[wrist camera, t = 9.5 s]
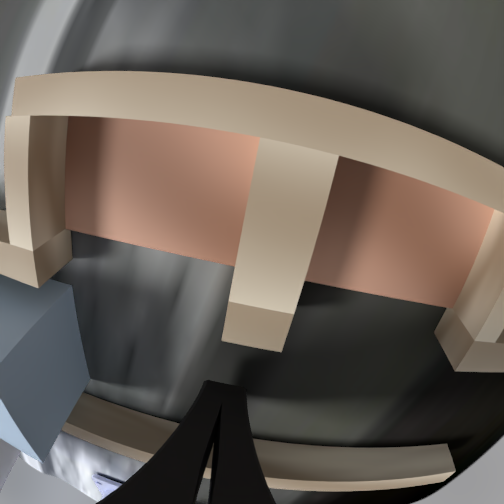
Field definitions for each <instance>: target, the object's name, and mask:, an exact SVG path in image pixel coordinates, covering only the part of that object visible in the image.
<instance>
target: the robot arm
mask: <svg viewBox="0 0 504 504" xmlns="http://www.w3.org/2000/svg"><path fill="white" fill-rule="evenodd" d="M213 443H214V445H213ZM212 447H213V456H212V467H211V478H210V489H209V499H208V504H276V503H275V501H274V499H273V496H272V494H271V492H270V490H269V487H268V485H267V482H266V480H265V477H264V474H263V472H262V469H261V466H260V463H259V459H258V456H257V453H256V449H255V445H254V441H253V437H252V433H251V428H250V423H249V417H248V410H247V398H246V389H245V388H244V387H239V386H234V385H229V384H224V383H219V382H215V381H210V380H206V381H204V383H203V385H202V388H201V390H200V392H199V394H198V396H197V398H196V399H195V401H194V403H193V405H192V406H191V408H190V409H189V411H188V412H187V414H186V415H185V417H184V418H183V420H182V421H181V422H180V424H179V425H178V427H177V428H176V429H175V431H174V432H173V433H172V434H171V436H170V437H169V438H168V439H167V441H166V442H165V443H164V444H163V445H162V447H161V448H160V449H159V450H158V451H157V452H156V453H155V454H154V455H153V456H152V457H151V459H150V460H149V461H148V462H147V463H146V464H145V465H144V466H142V467H141V468H140V469H139V470H138V471H137V472H136V473H135V474H134V475H133V476H131V477H130V478H129V479H128V480H127V481H126V482H125V483H123V484H121V483H118V482H115V481H112V480H110V479H107V478H105V477H102V476H99V475H97V474H93V476H92V479H93V481H94V482H95V484H96V486H97V487H98V489H99V491H100V492H101V494H102V495H103V496H102V498H101V500H100V501H99V502H98V503H96V504H195V502H196V498H197V494H198V491H199V488H200V485H201V481H202V478H203V475H204V472H205V469H206V466H207V463H208V459H209V456H210V453H211V450H212Z"/></svg>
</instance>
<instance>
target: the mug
mask: <svg viewBox="0 0 504 504" xmlns="http://www.w3.org/2000/svg"><path fill="white" fill-rule="evenodd" d="M20 452H21V451H20V450H19V449H17V448H15V447H14V446H12V445H10V444H9V443H7V442H6V441H4V440H2V439H1V438H0V491H1V489H2V487H3V485H4V483H5V481H6V479H7V477H8V475H9V473H10V471H11V469H12V467H13V465H14V463H15V462H16V460H17V458H18V456H19V454H20Z"/></svg>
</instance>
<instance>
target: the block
mask: <svg viewBox="0 0 504 504" xmlns="http://www.w3.org/2000/svg"><path fill="white" fill-rule="evenodd" d="M89 381H90V375H89V371H88V367H87V363H86V359H85V355H84V350H83V345H82V341H81V336H80V331H79V325H78V320H77V314H76V308H75V302H74V295H73V288H72V285H69V284H65V283H62V282H59V281H55V280H52V279H49V280H47V281H46V282H45V283H44V284H43V285H42V286H41V287H40V288H36V287H33V286H30V285H28V284H25V283H22V282H20V281H17V280H15V279H12V278H10V277H7V276H5V275H2V274H0V438H1V439H2V440H4V441H6V442H7V443H9V444H10V445H12V446H14V447H15V448H17V449H19V450H20V451H22V452H24V453H25V454H27V455H29V456H31V457H32V458H34V459H36V460H38V461H40V462H42V463H44V461H45V459H46V457H47V455H48V453H49V451H50V449H51V447H52V446H53V444H54V442H55V440H56V438H57V436H58V435H59V433H60V431H61V429H62V427H63V426H64V424H65V422H66V420H67V418H68V417H69V415H70V413H71V411H72V410H73V408H74V406H75V404H76V403H77V401H78V399H79V398H80V396H81V394H82V392H83V391H84V389H85V387H86V386H87V384H88V382H89Z"/></svg>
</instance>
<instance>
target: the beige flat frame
mask: <svg viewBox="0 0 504 504" xmlns="http://www.w3.org/2000/svg"><path fill="white" fill-rule="evenodd" d="M4 178H5V199H6V211H5V210H1V209H0V274H2V275H5V276H7V277H10V278H12V279H15V280H17V281H20V282H22V283H25V284H28V285H30V286H33V287H36V288H40V287H41V286H42V285H43V284H44V283H45V282H46V281H47V280H49V279H50V278H51V277H52V276H53V275H54V274H55V273H57V272H58V271H59V270H60V269H61V268H62V267H64V266H65V265H66V264H67V263H68V262H69V261H71V260H72V259H73V258H72V243H71V230H73V231H77V232H81V233H85V234H90V235H94V236H98V237H103V238H107V239H112V240H116V241H120V242H125V243H129V244H134V245H138V246H143V247H147V248H152V249H156V250H161V251H165V252H170V253H175V254H179V255H184V256H188V257H193V258H198V259H202V260H207V261H212V262H216V263H221V264H226V265H231V266H235V270H234V275H233V281H232V286H231V291H230V297H229V302H228V308H227V313H226V319H225V324H224V330H223V335H222V341H225V342H230V343H235V344H240V345H245V346H250V347H255V348H260V349H266V350H271V351H277V352H282V349H283V346H284V343H285V340H286V337H287V334H288V331H289V328H290V325H291V322H292V319H293V316H294V312H295V309H296V306H297V303H298V300H299V297H300V294H301V290H302V287H303V284H304V281H309V282H314V283H319V284H324V285H329V286H334V287H339V288H344V289H349V290H355V291H360V292H365V293H370V294H375V295H381V296H386V297H391V298H397V299H402V300H407V301H413V302H418V303H424V304H429V305H435V306H440V307H446V310H445V312H444V314H443V316H442V318H441V320H440V322H439V324H438V325H437V327H436V329H435V331H434V334H435V336H436V337H437V339H438V341H439V343H440V345H441V346H442V348H443V350H444V352H445V354H446V356H447V357H448V359H449V361H450V363H451V365H452V367H453V369H454V371H462V372H504V167H502V166H500V165H498V164H496V163H494V162H492V161H490V160H488V159H486V158H484V157H482V156H480V155H478V154H476V153H474V152H472V151H470V150H468V149H466V148H464V147H462V146H459V145H457V144H455V143H453V142H450V141H448V140H446V139H444V138H441V137H439V136H436V135H434V134H432V133H429V132H427V131H424V130H422V129H419V128H416V127H414V126H411V125H409V124H406V123H403V122H400V121H398V120H395V119H392V118H389V117H386V116H383V115H380V114H377V113H374V112H371V111H368V110H365V109H361V108H358V107H355V106H351V105H348V104H344V103H341V102H337V101H334V100H330V99H326V98H322V97H318V96H314V95H310V94H306V93H301V92H297V91H292V90H288V89H283V88H278V87H273V86H268V85H262V84H257V83H251V82H245V81H238V80H232V79H224V78H217V77H209V76H200V75H189V74H178V73H164V72H143V71H87V72H67V73H54V74H43V75H34V76H25V77H18V78H16V79H15V87H14V95H13V104H12V115H11V116H6V120H5V141H4ZM179 424H180V423H176V422H172V421H168V420H164V419H161V418H157V417H154V416H150V415H147V414H144V413H140V412H137V411H134V410H131V409H128V408H125V407H122V406H119V405H116V404H113V403H110V402H108V401H105V400H102V399H99V398H97V397H94V396H91V395H89V394H86V393H84V392H82V394H81V396H80V398H79V399H78V401H77V403H76V404H75V406H74V408H73V410H72V411H71V413H70V415H69V417H68V418H67V420H66V422H65V424H64V426H63V427H62V429H61V430H62V431H64V432H66V433H68V434H71V435H73V436H75V437H77V438H80V439H82V440H84V441H87V442H89V443H92V444H94V445H96V446H99V447H102V448H104V449H107V450H109V451H112V452H115V453H118V454H121V455H123V456H126V457H129V458H132V459H135V460H138V461H142V462H145V463H147V462H148V461H149V460H150V459H151V457H152V456H153V455H154V454H155V453H156V452H157V451H158V450H159V449H160V448H161V447H162V445H163V444H164V443H165V442H166V441H167V439H168V438H169V437H170V436H171V434H172V433H173V432H174V431H175V429H176V428H177V427H178V425H179ZM253 441H254V445H255V449H256V453H257V456H258V459H259V463H260V466H261V469H262V472H263V474H264V477H265V480H266V482H267V485H268V487H269V488H276V489H288V490H305V491H365V490H381V489H393V488H402V487H411V486H418V485H425V484H431V483H437V482H443V481H444V480H446V479H447V478H448V477H449V476H450V475H452V474H453V473H454V472H455V471H456V470H455V467H454V464H453V460H452V457H451V454H450V451H449V448H448V445H447V444H437V445H426V446H412V447H387V448H353V447H328V446H313V445H302V444H291V443H282V442H274V441H267V440H260V439H253ZM213 445H214V443H213ZM212 456H213V447H212V450H211V453H210V456H209V459H208V463H207V466H206V469H205V472H204V475H203V478H208V479H210V478H211V467H212Z"/></svg>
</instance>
